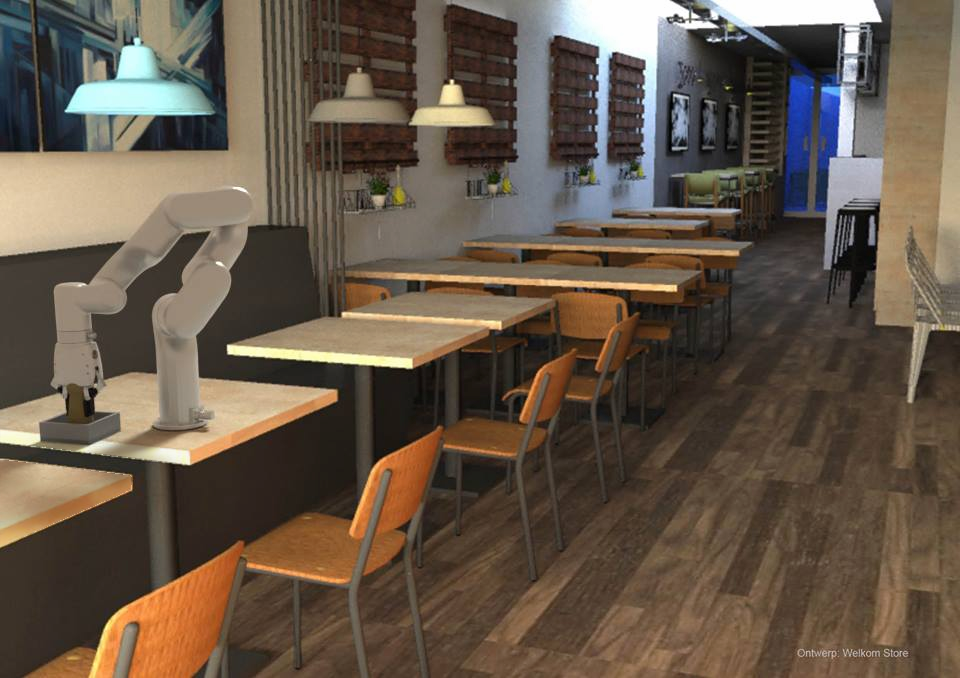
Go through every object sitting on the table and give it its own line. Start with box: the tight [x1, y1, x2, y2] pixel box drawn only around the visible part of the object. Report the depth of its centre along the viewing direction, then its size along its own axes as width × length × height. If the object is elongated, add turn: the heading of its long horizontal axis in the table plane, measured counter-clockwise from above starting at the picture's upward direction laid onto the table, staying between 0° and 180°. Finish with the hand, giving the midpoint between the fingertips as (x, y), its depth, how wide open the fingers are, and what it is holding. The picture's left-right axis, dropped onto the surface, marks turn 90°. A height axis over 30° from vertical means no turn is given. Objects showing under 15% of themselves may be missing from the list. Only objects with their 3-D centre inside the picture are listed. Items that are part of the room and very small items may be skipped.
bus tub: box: [38, 410, 122, 446], centre depth 249 cm, size 13×13×4 cm
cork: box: [66, 383, 94, 424], centre depth 248 cm, size 6×6×11 cm
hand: (80, 414), depth 249 cm, fingers closed on cork, 3 cm apart
